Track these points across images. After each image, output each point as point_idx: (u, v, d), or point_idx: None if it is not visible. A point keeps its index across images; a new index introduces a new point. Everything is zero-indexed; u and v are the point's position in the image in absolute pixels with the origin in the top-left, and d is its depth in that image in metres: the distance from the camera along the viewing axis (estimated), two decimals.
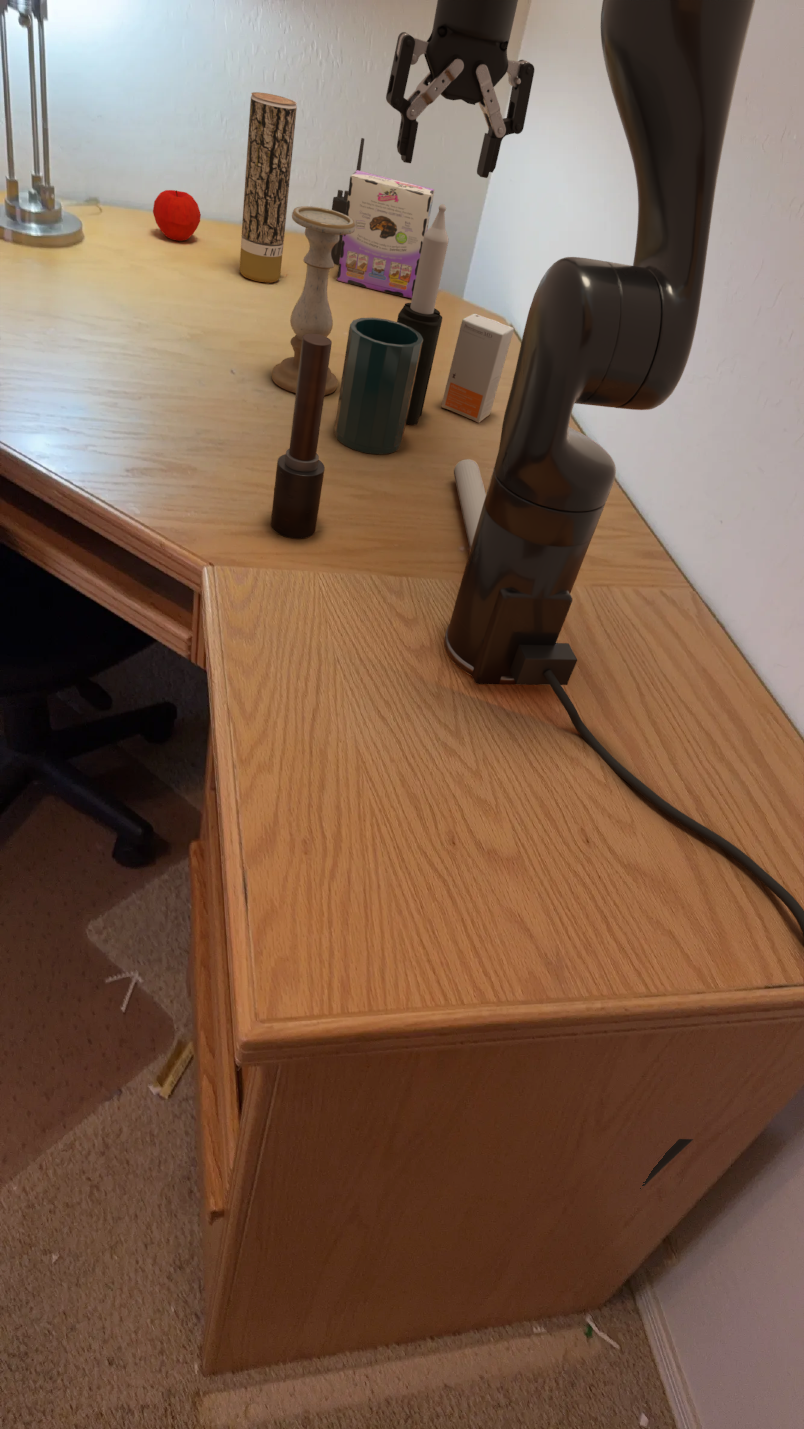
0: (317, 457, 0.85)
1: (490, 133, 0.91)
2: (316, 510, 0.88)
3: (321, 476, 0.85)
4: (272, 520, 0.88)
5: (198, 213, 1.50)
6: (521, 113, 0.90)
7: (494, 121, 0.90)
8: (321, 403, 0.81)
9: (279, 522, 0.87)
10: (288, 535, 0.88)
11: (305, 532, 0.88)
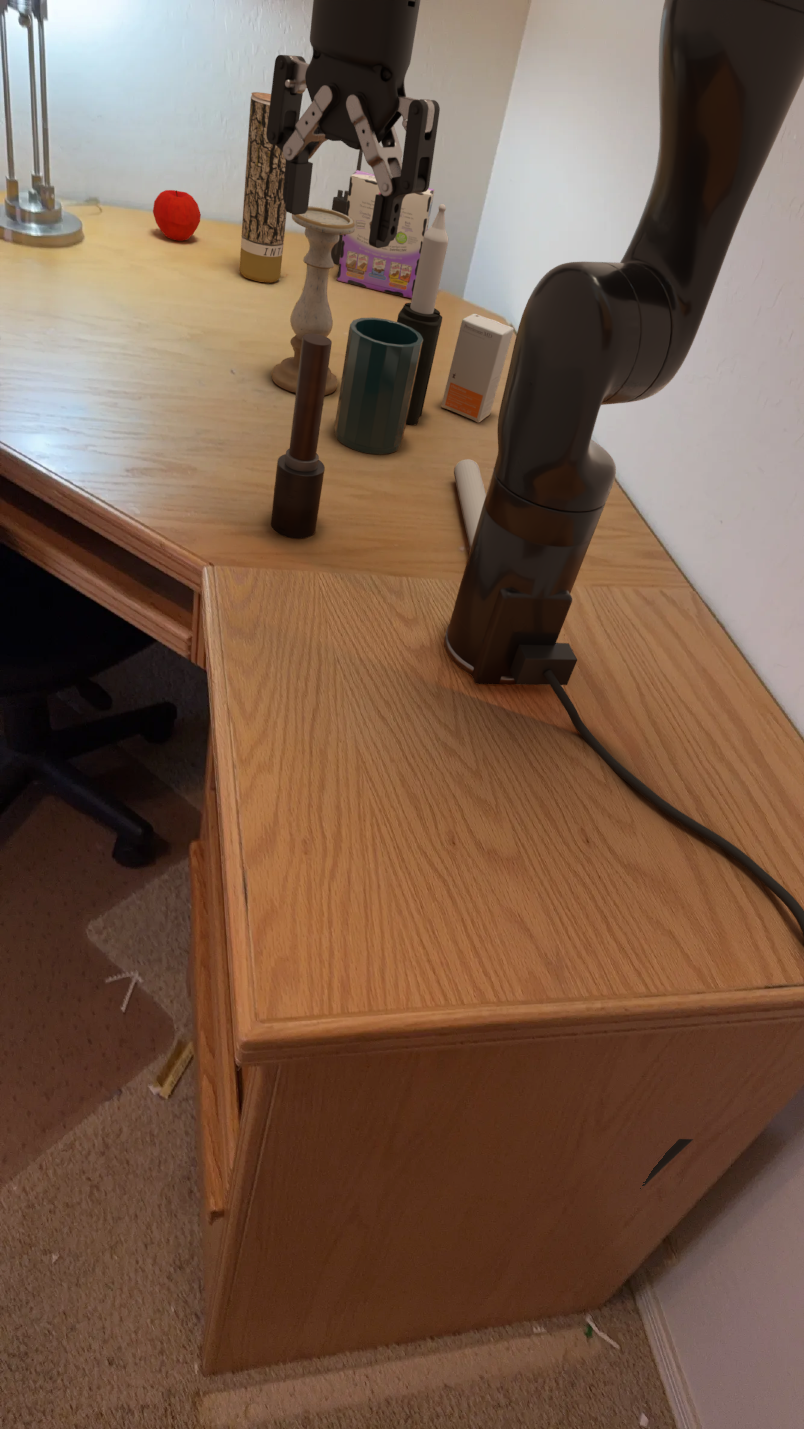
0: (317, 457, 0.85)
1: None
2: (316, 510, 0.88)
3: (321, 476, 0.85)
4: (272, 520, 0.88)
5: (198, 213, 1.50)
6: (410, 167, 0.65)
7: (377, 173, 0.67)
8: (321, 403, 0.81)
9: (279, 522, 0.87)
10: (288, 535, 0.88)
11: (305, 532, 0.88)
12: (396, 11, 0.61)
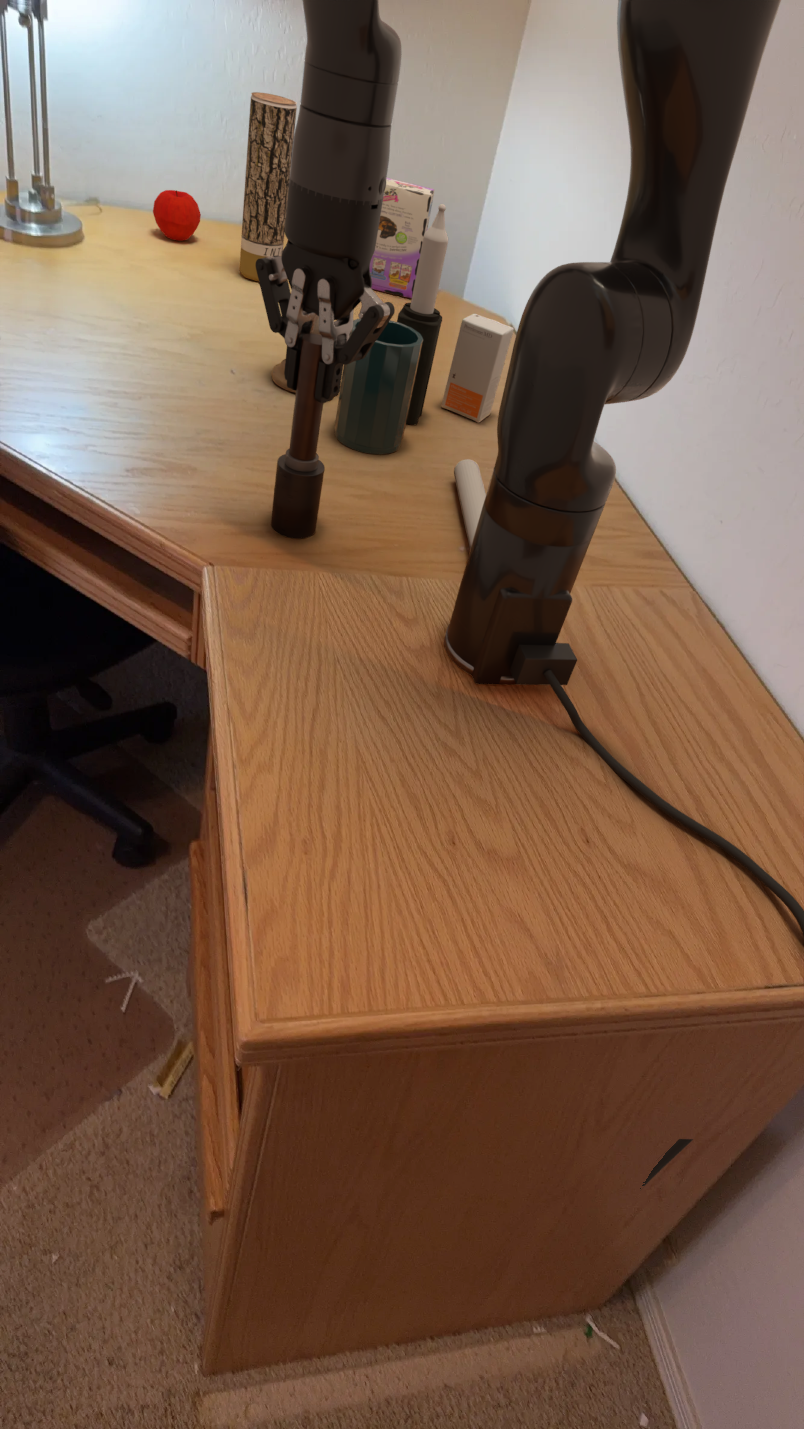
0: (317, 457, 0.85)
1: None
2: (316, 510, 0.88)
3: (321, 476, 0.85)
4: (272, 520, 0.88)
5: (198, 213, 1.50)
6: (352, 347, 0.75)
7: None
8: (321, 403, 0.81)
9: (279, 522, 0.87)
10: (288, 535, 0.88)
11: (305, 532, 0.88)
12: (360, 215, 0.68)
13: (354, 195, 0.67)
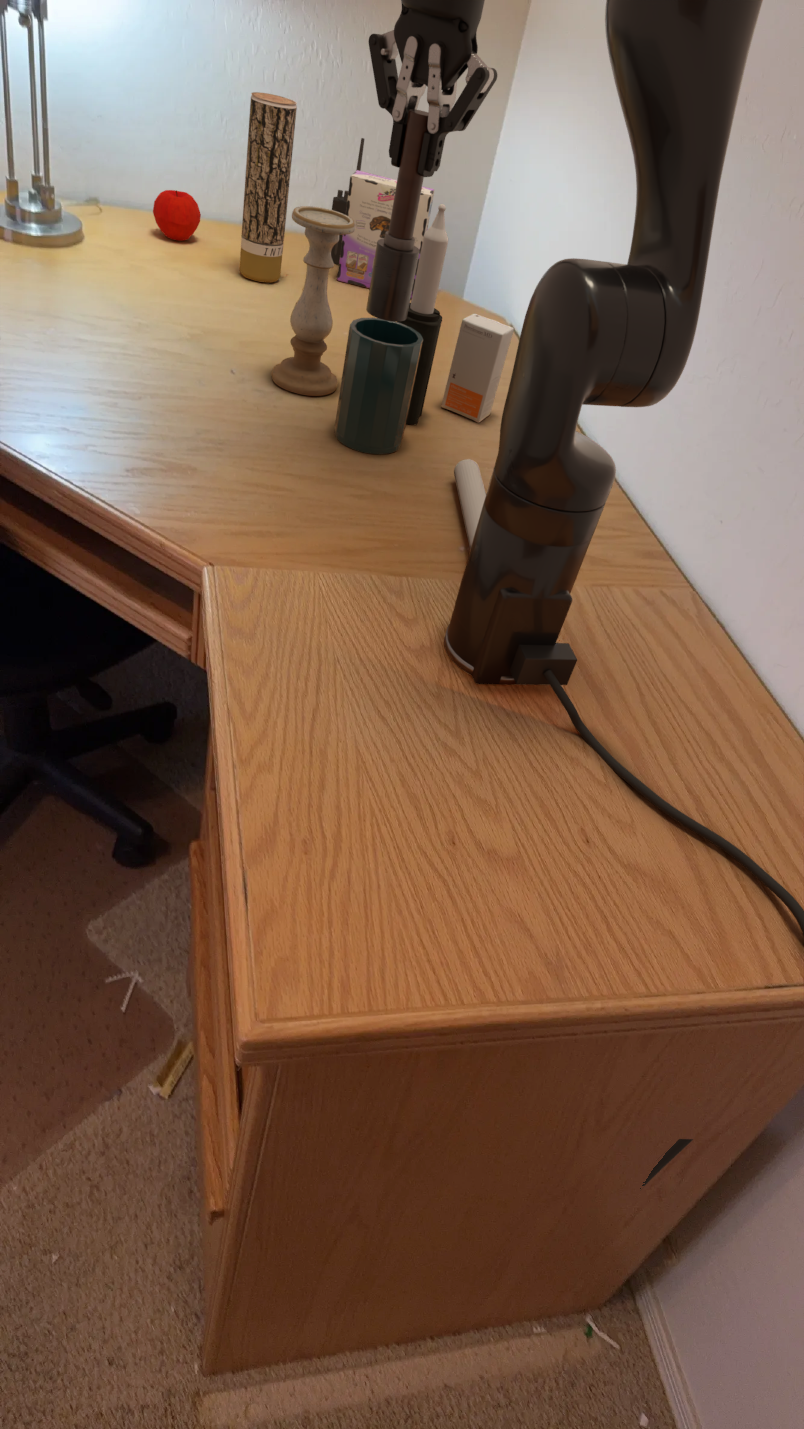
0: (413, 238, 0.93)
1: None
2: (410, 293, 0.95)
3: (417, 257, 0.93)
4: (369, 304, 0.96)
5: (198, 213, 1.50)
6: (457, 112, 0.82)
7: None
8: (422, 179, 0.89)
9: (376, 304, 0.95)
10: (384, 317, 0.96)
11: (399, 315, 0.96)
12: None
13: None
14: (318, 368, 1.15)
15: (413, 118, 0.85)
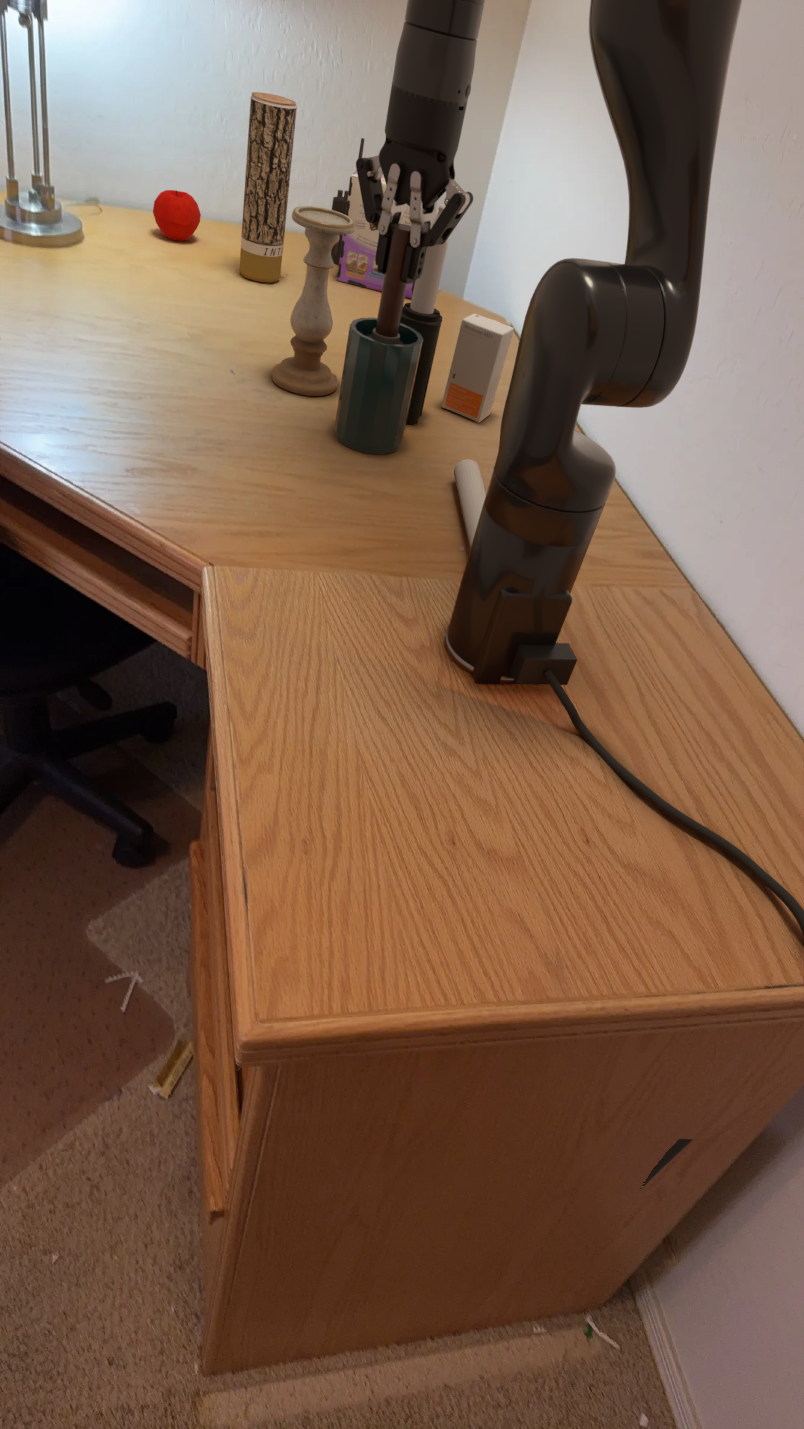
0: (399, 335, 1.00)
1: None
2: None
3: None
4: None
5: (198, 213, 1.50)
6: (437, 231, 0.90)
7: None
8: (405, 284, 0.96)
9: None
10: None
11: None
12: (450, 114, 0.84)
13: (446, 96, 0.83)
14: (318, 368, 1.15)
15: (397, 233, 0.92)
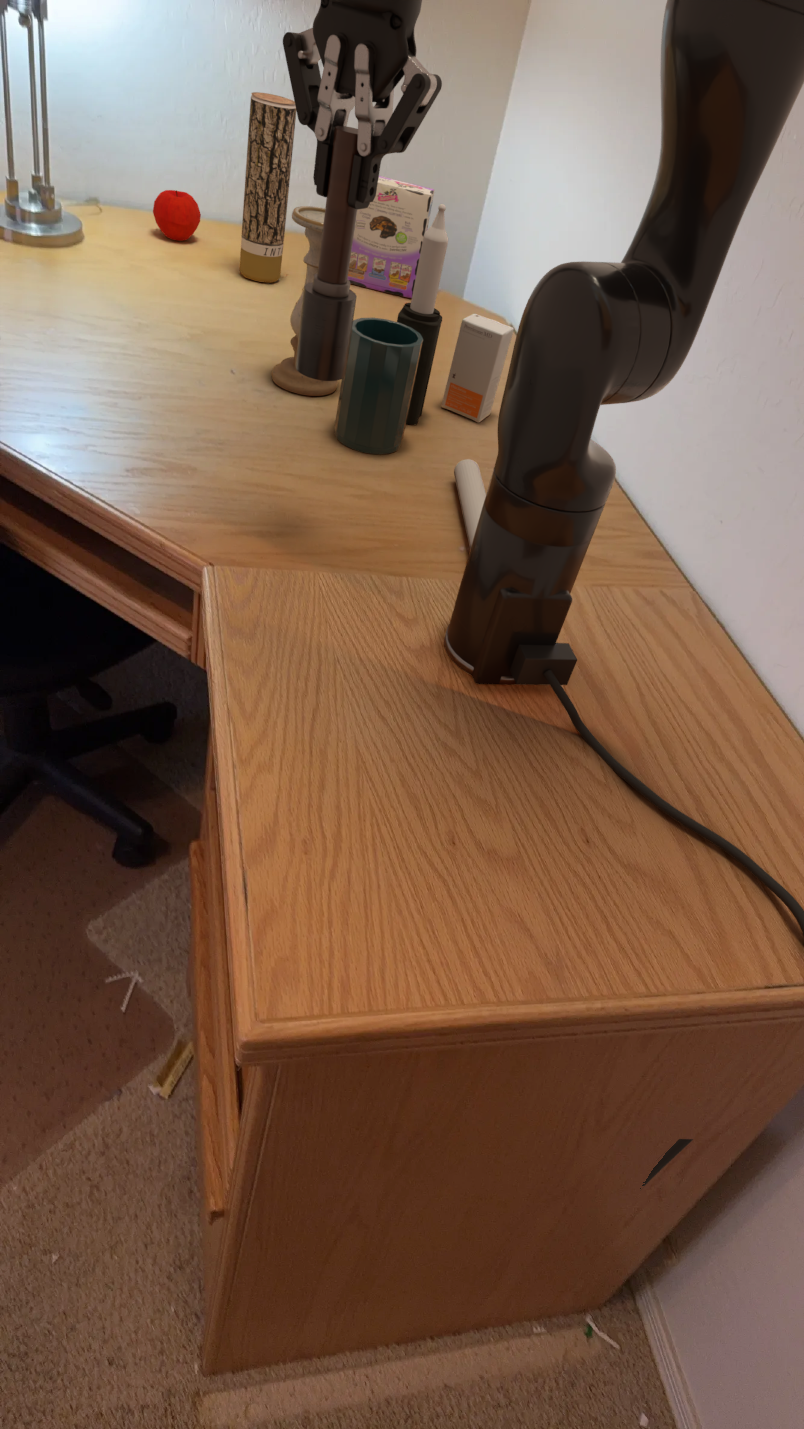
0: (348, 282, 0.76)
1: None
2: (346, 347, 0.79)
3: (353, 304, 0.76)
4: (297, 360, 0.79)
5: (198, 213, 1.50)
6: (393, 130, 0.66)
7: None
8: (355, 211, 0.72)
9: (305, 361, 0.78)
10: (315, 376, 0.79)
11: (334, 373, 0.79)
12: None
13: None
14: None
15: (340, 137, 0.68)
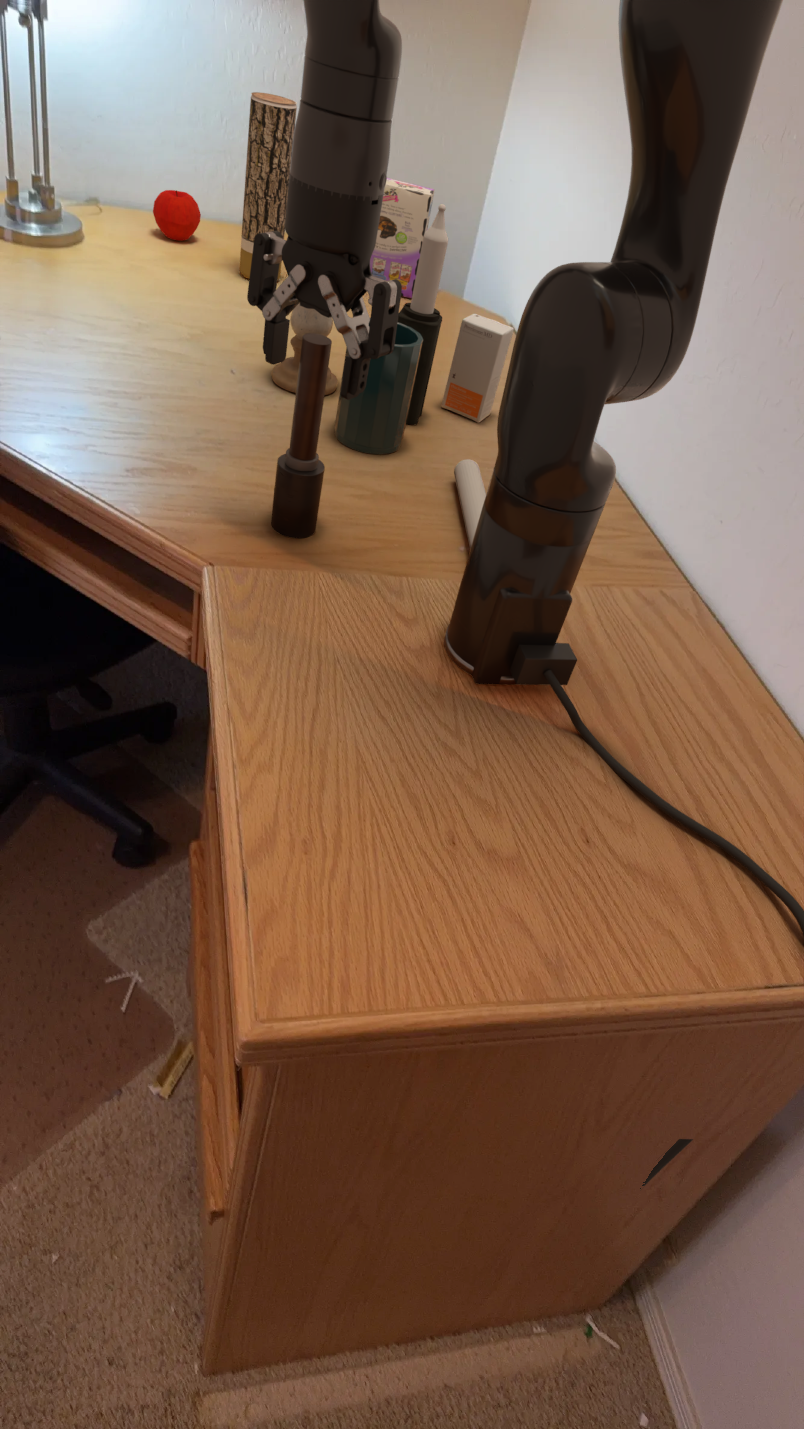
0: (317, 457, 0.85)
1: None
2: (316, 510, 0.88)
3: (321, 476, 0.85)
4: (272, 520, 0.88)
5: (198, 213, 1.50)
6: (375, 337, 0.73)
7: (347, 339, 0.74)
8: (321, 403, 0.81)
9: (279, 522, 0.87)
10: (288, 535, 0.88)
11: (305, 532, 0.88)
12: (361, 210, 0.68)
13: (354, 190, 0.67)
14: None
15: (306, 347, 0.77)
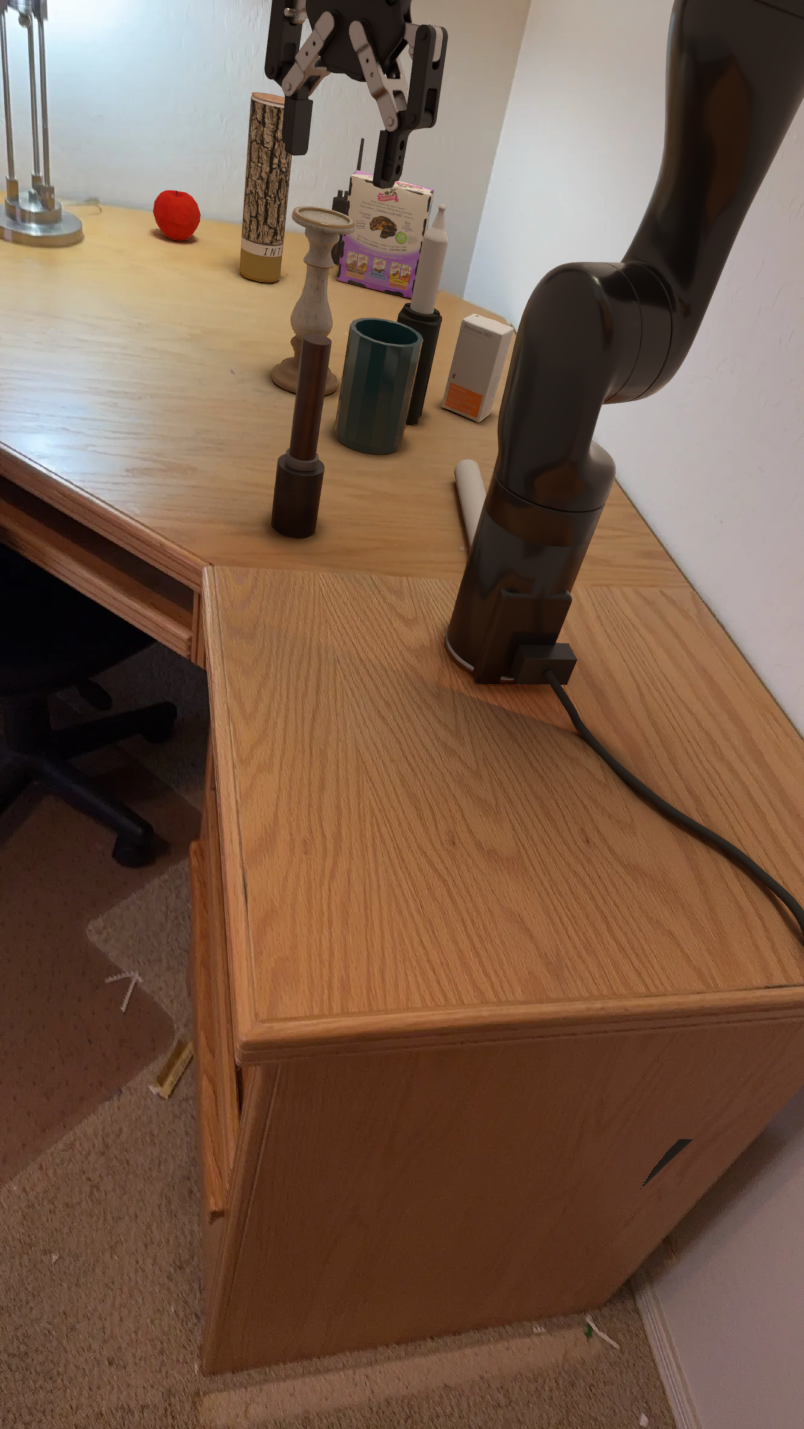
0: (317, 457, 0.85)
1: None
2: (316, 510, 0.88)
3: (321, 476, 0.85)
4: (272, 520, 0.88)
5: (198, 213, 1.50)
6: (416, 98, 0.62)
7: (382, 107, 0.63)
8: (321, 403, 0.81)
9: (279, 522, 0.87)
10: (288, 535, 0.88)
11: (305, 532, 0.88)
12: None
13: None
14: None
15: (306, 347, 0.77)
